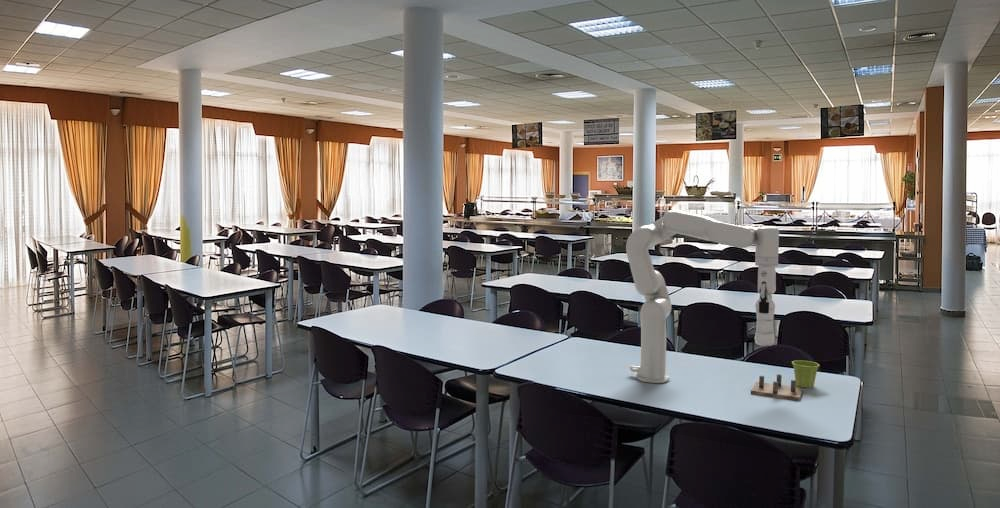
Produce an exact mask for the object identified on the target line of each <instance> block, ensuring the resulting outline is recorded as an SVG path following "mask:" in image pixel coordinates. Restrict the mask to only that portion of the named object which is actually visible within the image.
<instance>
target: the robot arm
mask: <svg viewBox="0 0 1000 508" xmlns="http://www.w3.org/2000/svg"><path fill="white" fill-rule="evenodd" d="M676 234H677V235H682V236H683V235H684V236H686V237H687V236H688V237H691V238H696V239H699V240H703V241H707V242H712V243H717V244H719V245H720V244H721V245H725V246H729V247H734V248H739V249H745V248H748V247H750V246H753V247H754V246H755V258H754V259H755V260H754V261H755V263H754V265H755V266H757V268H758V269H757V293H758V295H759V298H760V300H759V313H769V302H768V298H769V293H770V294H771V295H772V296H771V299H772V298H773V295H774V294H775V292H776V290H777V284H776V283H777V282H776V281H777V277H776V275H777V272H776V271H777V270H776V267H779V247H780V246H779V245H780V243H779V241H780V239H779V238H780V230H779V229H778V227H775V226H751V225H750V226H749V225H742V226H741V225H735V224H731V223H725V222H723V221H718V220H716V219H713V218H712V217H709V216H705V215H702V214H701V215H700V214H695V213H690V212H686V211H683V210H681V209H670V210H668V211H666V212H664V214H663V215H662V217H661V218H658V219H657V220H655V221H653V222H651V223H650V224H646V225H641V226H639V227H637V228H635V230H633V231H632V232H631V233H630V235H629V236H628V238H627V240H626V244H625V251H626V252H625V253H626V257H627V259H628V263H629V267H630V272H631V275H632V280H633V283H634V286H635V289H636V291H637V292H638V293H639V294H640V295H641V296H644V299H645V302H644V303H643V304H642V306H641V308H640V313H639V317H640V365H638V366H637V365H633V364H632V365H630V368H629V370H630V371H631V372H633V373H634V372H636V375H635V376H636V377H635V378H636V379H637V380H638V381H640V382H644V383H648V384H649V383H650V384H662V383H663V384H664V383H667V382H669V381H670V375H668V374H666V371H667V370H666V368H667V364H666V361H667V359H666V358H667V320H666V319H667V318H668V316H669V315H670V314H671V312H672V308H673V307H672V302H671V301H672V300H671V299H670V298H671V297H670V295H669V291H668V288H667V284H666V281H665V278H664V277H663V275H662V274H661V272H660V271H658V270H656V269H655V267H654V264H653V260H652V258H651V255H650V253H649V248H650V247H655V246H657V245H658V244H660V243H663V242H664V241H666V240H668V239H670V238H672V237H673V236H675V235H676ZM765 292H767V293H765ZM766 295H767V297H766ZM772 300H773V299H772Z"/></svg>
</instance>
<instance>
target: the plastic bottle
mask: <svg viewBox="0 0 1000 508" xmlns="http://www.w3.org/2000/svg"><path fill="white" fill-rule="evenodd" d="M765 293H767V292H765ZM771 296H772V297H773V294H772V295H771V294H770V293H769V298H768V302H769V313H759V300H760V297H759V298H758V299H757V300H756V302H755V305H754V306H755V307H754V308H755V314H756V315H755V316H756V327H755V329H756V330H755V334H754V342H755V344H756V345H758V346H761V347H771V346H773V345H774V344H775V341H776V340H775V339H776V338H775V333H774V330H775V329H774V318H775V311H776V310H775V309H776V304H775V302H774V300H773V299H771ZM766 297H767V295H766Z"/></svg>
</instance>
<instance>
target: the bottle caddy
mask: <svg viewBox="0 0 1000 508" xmlns="http://www.w3.org/2000/svg"><path fill="white" fill-rule="evenodd" d="M758 378H759V381H755V383H754V384H753V386H752V388H751V389H750V394H751V395H755V396H757V395H758V396H763V397H764V396H765V397H771V398H776V399H777V398H778V399H783V400H790V401H791V400H792V401H798V402H799V401H801V398H802V395H803V391H804V387H799V386H797V385H796V380H795V379H790V385H784V384H782V374H779V373H777V374H776V381H773V382H772V383H770V382H765V375H759V377H758Z"/></svg>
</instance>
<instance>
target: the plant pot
mask: <svg viewBox="0 0 1000 508" xmlns="http://www.w3.org/2000/svg"><path fill="white" fill-rule="evenodd" d="M791 365H792V367H793V369H794V370H793V371H794V380H796V387H800V388H806V389H812V388H814V387H815V381H816V376H817V372H818V369H819V367H820V364H819V363H817V362H815V361H809V360H801V359H799V360H793V361H791Z"/></svg>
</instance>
